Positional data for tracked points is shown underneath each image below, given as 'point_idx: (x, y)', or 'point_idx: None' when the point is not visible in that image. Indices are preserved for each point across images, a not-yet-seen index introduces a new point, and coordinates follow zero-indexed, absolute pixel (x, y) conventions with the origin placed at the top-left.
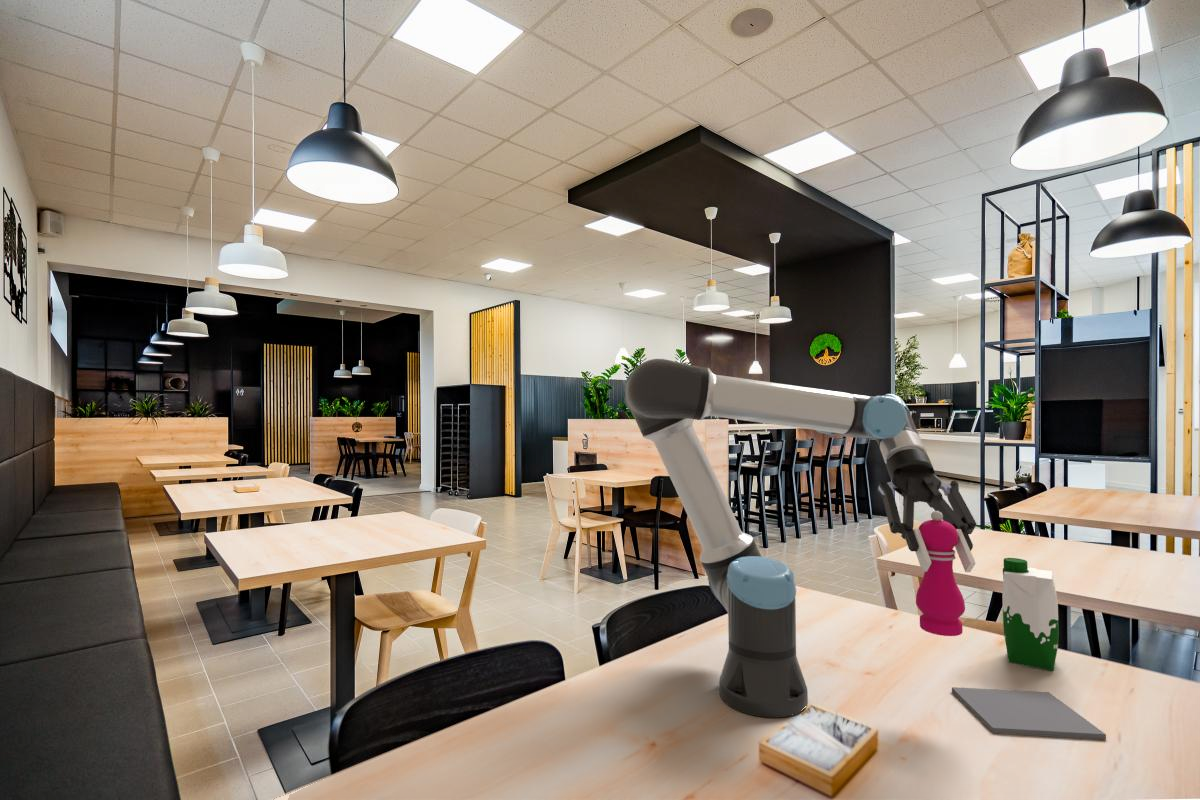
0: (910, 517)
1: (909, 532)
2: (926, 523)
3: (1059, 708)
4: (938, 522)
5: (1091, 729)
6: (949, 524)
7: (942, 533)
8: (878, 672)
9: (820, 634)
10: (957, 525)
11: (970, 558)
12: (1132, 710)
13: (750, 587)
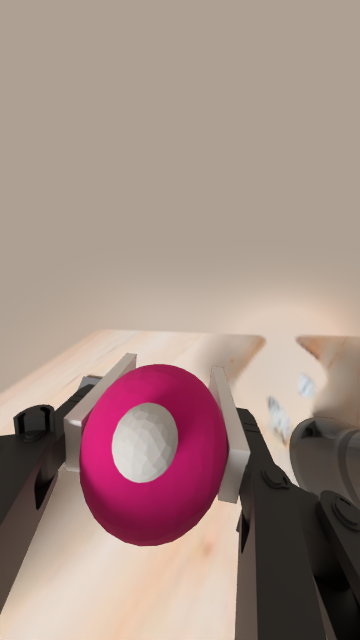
0: (278, 558)
1: (263, 458)
2: (207, 430)
3: None
4: (166, 396)
5: (86, 383)
6: (123, 388)
7: (175, 366)
8: (192, 552)
9: None
10: (48, 444)
11: (128, 359)
12: (8, 423)
13: None
